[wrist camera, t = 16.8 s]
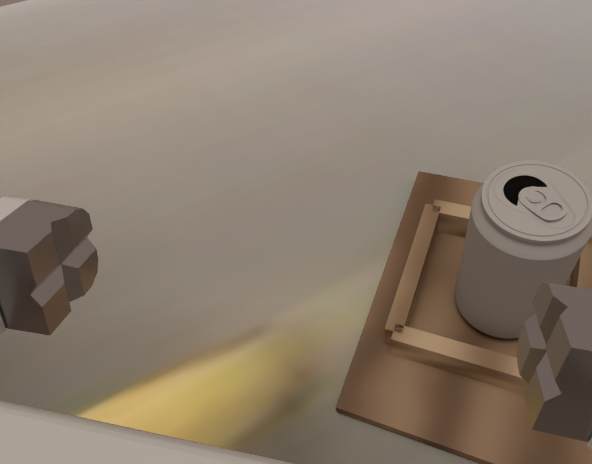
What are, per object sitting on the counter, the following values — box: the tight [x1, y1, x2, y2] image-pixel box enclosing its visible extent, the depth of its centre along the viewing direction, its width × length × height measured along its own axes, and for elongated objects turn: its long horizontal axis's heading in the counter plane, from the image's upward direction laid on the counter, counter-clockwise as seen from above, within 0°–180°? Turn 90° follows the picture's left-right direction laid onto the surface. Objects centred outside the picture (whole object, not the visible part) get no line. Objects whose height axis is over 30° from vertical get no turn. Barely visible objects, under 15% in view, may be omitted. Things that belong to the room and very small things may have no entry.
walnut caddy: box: [336, 171, 592, 464], centre depth 37 cm, size 16×22×4 cm
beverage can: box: [455, 160, 592, 339], centre depth 33 cm, size 6×6×12 cm
